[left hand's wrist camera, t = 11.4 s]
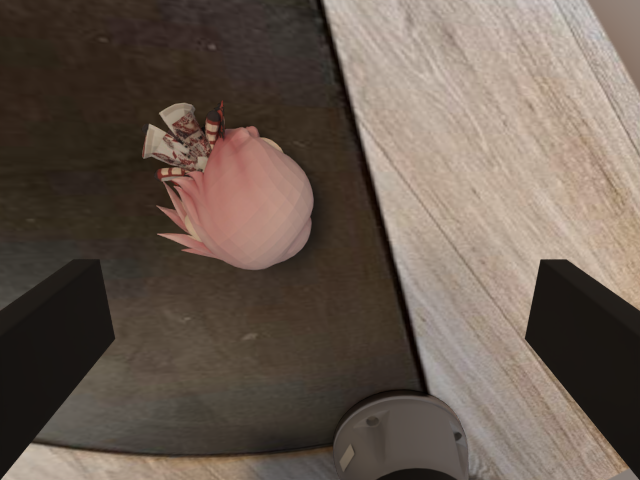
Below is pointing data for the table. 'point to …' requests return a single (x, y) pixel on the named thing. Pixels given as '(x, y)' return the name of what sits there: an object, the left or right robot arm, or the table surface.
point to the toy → (230, 189)
